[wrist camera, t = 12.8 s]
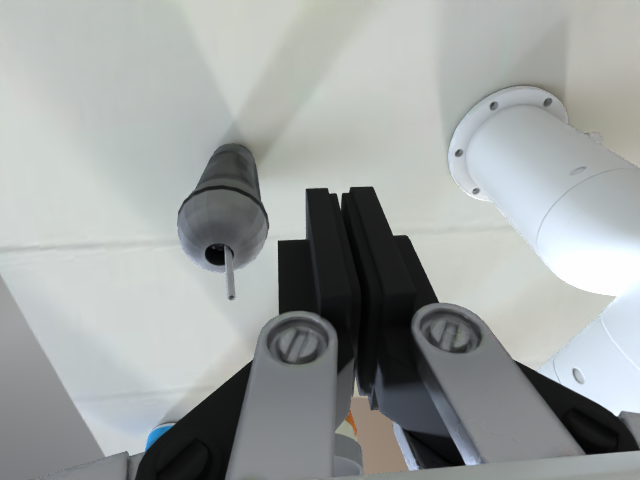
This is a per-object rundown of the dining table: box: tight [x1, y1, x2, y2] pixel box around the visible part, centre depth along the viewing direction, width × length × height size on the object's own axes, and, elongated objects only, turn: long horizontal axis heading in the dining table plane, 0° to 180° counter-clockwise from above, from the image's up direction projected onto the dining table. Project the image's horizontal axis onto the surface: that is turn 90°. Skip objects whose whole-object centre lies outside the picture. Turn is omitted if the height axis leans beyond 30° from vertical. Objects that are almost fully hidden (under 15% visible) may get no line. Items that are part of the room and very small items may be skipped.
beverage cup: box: [177, 144, 269, 300], centre depth 35 cm, size 7×7×20 cm
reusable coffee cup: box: [334, 411, 364, 477], centre depth 59 cm, size 12×13×15 cm
